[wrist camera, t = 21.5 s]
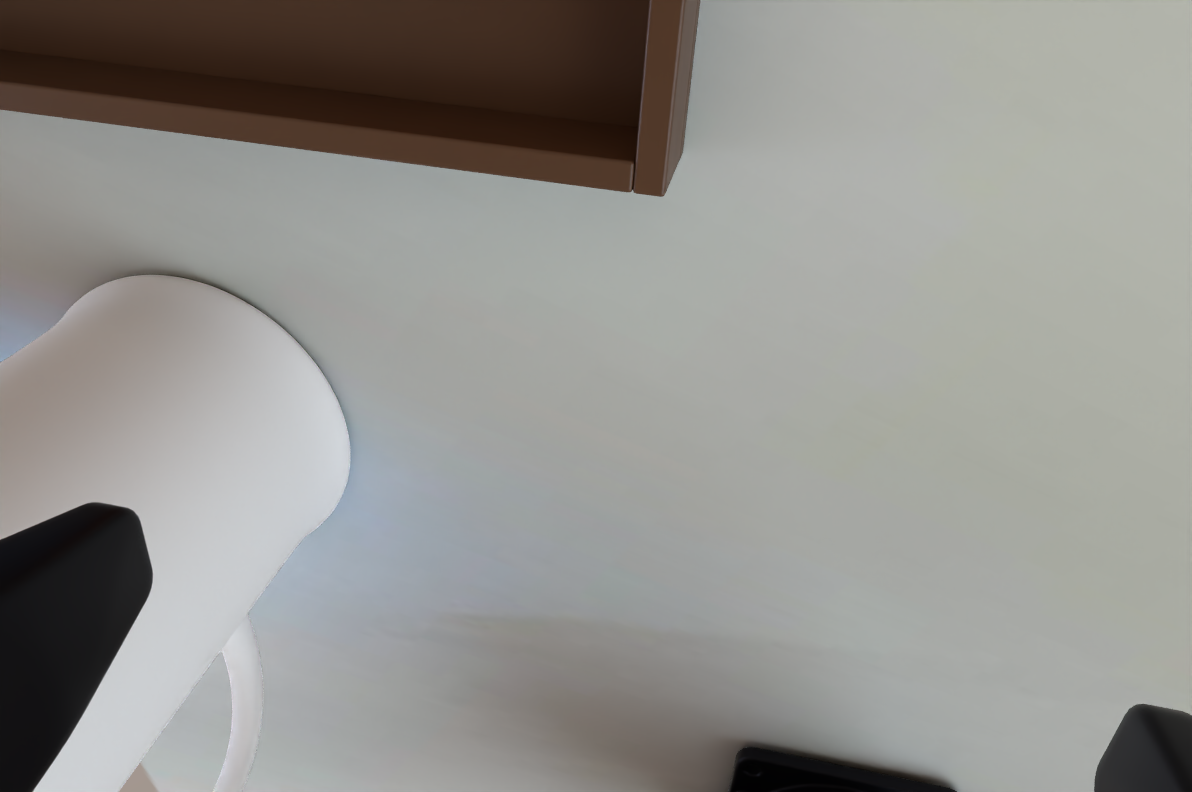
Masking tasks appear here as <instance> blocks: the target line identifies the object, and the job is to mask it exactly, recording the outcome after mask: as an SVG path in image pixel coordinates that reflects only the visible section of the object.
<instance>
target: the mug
mask: <svg viewBox="0 0 1192 792" xmlns="http://www.w3.org/2000/svg"><path fill="white" fill-rule="evenodd" d="M350 460H351V453H350V441H349V434H348V429H347V425H346V422H345V418H344V415H343V412H342V409H341V407H340V404H339V402H338V400H337V398H336V396H335V394H334V392H333V390H332V388H331V386H330V384H329V383H328V381H327V379H326V378H325V376H324V375H323V373H322V372H321V370H320V369H319V367H318V366H317V365H316V363H315V362H314V361H313V359H312V358H311V357H310V356H309V354H308V353H307V352H306V351H305V350H304V349H303V348H302V347H301V345H300V344H299V343H298V342H297V341H296V340H295V339H294V338H293V337H292V336H291V335H290V334H288V333H287V332H286V331H285V330H284V329H283V328H282V327H281V326H279V325H278V324H277V323H276V322H274V321H273V320H272V319H270V318H269V317H268V316H266V315H265V314H264V313H262V312H261V311H259V310H258V309H256V308H255V307H253V306H251V305H250V304H248V303H246V302H245V301H243V300H241V299H239V298H237V297H235V296H233V295H231V294H229V293H227V292H225V291H223V290H220V289H218V288H215V287H213V286H210V285H207V284H204V283H201V282H197V281H194V280H190V279H185V278H180V277H174V276H165V275H138V276H130V277H125V278H120V279H116V280H113V281H110V282H108V283H105V284H103V285H100V286H98V287H96V288H95V289H93V290H91V291H90V292H88V293H87V294H85V295H84V296H82V297H81V298H80V299H79V300H78V301H76V302H75V303H74V304H73V305H72V306H71V307H70V309H69V310H68V311H67V312H66V313H65V315H64V316H63V317H62V319H61V320H60V321H59V322H58V323H57V324H56V325H55V326H53V327H52V328H51V329H49V330H48V331H47V332H45V333H44V334H42V335H41V336H40V337H38V338H37V339H35V340H34V341H32V342H31V343H29V344H28V345H26V346H25V347H23V348H22V349H20V350H19V351H17V352H16V353H14V354H13V355H11V356H10V357H8V358H7V359H5V360H4V361H2V362H1V363H0V540H1V539H3V538H5V537H8V536H10V535H13V534H15V533H17V532H20V531H22V530H24V529H27V528H29V527H31V526H34V525H36V524H39V523H41V522H43V521H46V520H48V519H50V518H53V517H55V516H57V515H60V514H62V513H65V512H67V511H69V510H72V509H74V508H76V507H79V506H81V505H84V504H86V503H91V502H100V503H106V504H111V505H116V506H121V507H126V508H129V509H131V510H133V511H134V512H135V513H136V514H137V515H138V517H139V519H140V521H141V525H142V529H143V533H144V537H145V541H146V545H147V549H148V553H149V557H150V561H151V565H152V570H153V582H152V588H151V591H150V594H149V596H148V598H147V601H146V602H145V604H144V606H143V608H142V610H141V611H140V613H139V615H138V617H137V619H136V620H135V622H134V624H133V626H132V628H131V629H130V631H129V633H128V635H127V637H126V638H125V640H124V642H123V644H122V646H121V647H120V649H119V651H118V653H117V655H116V656H115V658H114V660H113V662H112V664H111V665H110V667H109V669H108V671H107V673H106V674H105V676H104V678H103V680H102V682H101V683H100V685H99V687H98V689H97V691H96V692H95V694H94V696H93V698H92V700H91V701H90V703H89V705H88V707H87V709H86V710H85V712H84V714H83V716H82V717H81V719H80V721H79V722H78V724H77V726H76V727H75V729H74V731H73V732H72V734H71V736H70V737H69V739H68V740H67V742H66V743H65V745H64V747H63V748H62V750H61V751H60V753H59V754H58V756H57V757H56V759H55V760H54V762H53V763H52V765H51V766H50V768H49V769H48V770H47V772H46V773H45V775H44V776H43V778H42V779H41V781H40V782H39V783H38V785H37V786H36V788H35V789H34V791H33V792H119V791H120V789H121V788H122V786H123V785H124V784H125V782H126V781H127V779H128V778H129V776H130V775H131V774H132V773H133V771H134V770H135V768H136V767H137V766H138V764H139V763H140V762H141V760H142V759H143V757H144V756H145V755H146V753H147V752H148V750H149V749H150V748H151V746H152V745H153V744H154V742H155V741H156V739H157V738H158V737H159V735H160V734H161V733H162V731H163V730H164V728H165V727H166V726H167V724H168V723H169V722H170V720H171V719H172V717H173V716H174V715H175V713H176V712H177V710H178V709H179V708H180V706H181V705H182V704H183V702H184V701H185V699H186V698H187V697H188V695H189V694H190V693H191V691H192V690H193V688H194V687H195V686H196V684H197V683H198V681H199V680H200V679H201V677H202V676H203V675H204V673H205V672H206V670H207V669H208V668H209V666H210V665H211V664H212V662H213V661H214V659H215V658H216V657H217V655H218V654H219V652H220V651H222V654H223V656H224V659H225V662H226V666H227V670H228V674H229V679H230V685H231V693H232V725H231V733H230V740H229V745H228V750H227V754H226V758H225V761H224V765H223V768H222V771H221V773H220V776H219V779H218V781H217V783H216V785H215V788H214V790H213V792H242V791H243V789H244V786H245V784H246V782H247V779H248V776H249V774H250V771H251V768H252V765H253V762H254V758H255V755H256V751H257V746H258V742H259V737H260V731H261V724H262V715H263V673H262V665H261V658H260V652H259V648H258V643H257V639H256V635H255V632H254V629H253V625H252V622H251V620H250V617H249V614H248V612H249V611H250V610H251V608H252V607H253V606H254V604H255V603H256V601H257V600H258V599H259V597H260V596H261V595H262V593H263V592H264V590H265V589H266V588H267V586H268V585H269V584H270V582H271V581H272V579H273V578H274V577H275V575H276V574H277V573H278V571H279V570H280V568H281V567H282V566H283V564H284V563H285V562H286V560H287V559H288V558H289V556H290V555H291V554H292V552H293V551H294V550H295V549H296V547H297V546H298V545H299V544H300V542H301V541H302V540H303V539H304V538H305V537H306V536H307V535H309V534H310V533H311V532H313V531H314V530H315V529H317V528H318V527H319V526H320V525H321V524H322V523H323V522H324V521H325V520H326V519H327V518H328V517H329V516H330V515H331V513H332V512H333V511H334V509H335V508H336V506H337V505H338V503H339V501H340V499H341V497H342V495H343V493H344V490H345V488H346V485H347V481H348V477H349V471H350Z"/></svg>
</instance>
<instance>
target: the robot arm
mask: <svg viewBox="0 0 1192 792" xmlns="http://www.w3.org/2000/svg"><path fill="white" fill-rule="evenodd" d="M152 582H153V570H152V565H151V561H150V557H149V553H148V549H147V545H146V541H145V537H144V533H143V529H142V525H141V521H140V519H139V517H138V515H137V514H136V513H135V512H134V511H133V510H131V509H129V508H126V507H121V506H116V505H111V504H106V503H100V502H91V503H86V504H84V505H81V506H79V507H76V508H74V509H72V510H69V511H67V512H65V513H62V514H60V515H57V516H55V517H53V518H50V519H48V520H46V521H43V522H41V523H39V524H36V525H34V526H31V527H29V528H27V529H24V530H22V531H20V532H17V533H15V534H13V535H10V536H8V537H5V538H3V539H1V540H0V792H33V791H34V789H35V788H36V786H37V785H38V783H39V782H40V781H41V779H42V778H43V776H44V775H45V773H46V772H47V770H48V769H49V768H50V766H51V765H52V763H53V762H54V760H55V759H56V757H57V756H58V754H59V753H60V751H61V750H62V748H63V747H64V745H65V743H66V742H67V740H68V739H69V737H70V736H71V734H72V732H73V731H74V729H75V727H76V726H77V724H78V722H79V721H80V719H81V717H82V716H83V714H84V712H85V710H86V709H87V707H88V705H89V703H90V701H91V700H92V698H93V696H94V694H95V692H96V691H97V689H98V687H99V685H100V683H101V682H102V680H103V678H104V676H105V674H106V673H107V671H108V669H109V667H110V665H111V664H112V662H113V660H114V658H115V656H116V655H117V653H118V651H119V649H120V647H121V646H122V644H123V642H124V640H125V638H126V637H127V635H128V633H129V631H130V629H131V628H132V626H133V624H134V622H135V620H136V619H137V617H138V615H139V613H140V611H141V610H142V608H143V606H144V604H145V602H146V601H147V598H148V596H149V594H150V591H151V588H152ZM1094 791H1095V792H1192V715H1190V714H1188V713H1185V712H1183V711H1178V710H1173V709H1168V708H1163V707H1158V706H1152V705H1147V704H1137V705H1135V706H1133V707H1132V708H1130V709H1129V710H1128V712H1127V713H1126V715H1125V716H1124V718H1123V720H1122V722H1121V724H1120V725H1119V727H1118V729H1117V731H1116V733H1115V735H1114V736H1113V738H1112V740H1111V742H1110V744H1109V746H1108V747H1107V749H1106V751H1105V753H1104V755H1103V757H1102V758H1101V760H1100V762H1099V765H1098V767H1097V771H1096V776H1095V787H1094ZM728 792H957V791H955V790H953V789H950V788H946V787H941V786H936V785H932V784H927V783H922V782H917V781H913V780H908V779H903V778H898V777H894V776H889V775H884V774H879V773H875V772H870V771H865V770H860V769H855V768H851V767H846V766H841V765H836V764H832V763H827V762H822V761H817V760H813V759H808V758H803V757H798V756H794V755H789V754H784V753H779V752H775V751H770V750H765V749H760V748H755V747H747V748H743V749H741V750H740V751H739V752H738V753H737V755H736V760H735V764H734V769H733V773H732V778H731V782H730V787H729V791H728Z"/></svg>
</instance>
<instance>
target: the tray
mask: <svg viewBox="0 0 1192 792" xmlns="http://www.w3.org/2000/svg"><path fill="white" fill-rule="evenodd" d="M699 6H700V0H0V109H1V110H9V111H16V112H24V113H31V114H39V115H46V116H54V117H62V118H69V119H77V120H84V121H92V122H99V123H107V124H115V125H122V126H130V127H137V128H145V129H152V130H160V131H168V132H175V133H183V134H190V135H198V136H205V137H213V138H221V139H228V140H236V141H243V142H251V143H258V144H266V145H274V146H281V147H289V148H296V149H304V150H311V151H319V152H327V153H334V154H342V155H349V156H357V157H364V158H372V159H380V160H387V161H395V162H402V163H410V164H417V165H425V166H433V167H440V168H448V169H455V170H463V171H470V172H478V173H486V174H493V175H501V176H508V177H516V178H523V179H531V180H539V181H546V182H554V183H561V184H569V185H576V186H584V187H592V188H599V189H607V190H614V191H622V192H631V191H632V190H633V191H634V192H635V193H637V194H645V195H652V196H660V197H661V196H664V195H665V193H666V191H667V188H668V186H669V183H670V181H671V179H672V176H673V174H674V172H675V169H676V167H677V164H678V162H679V160H680V158H681V156H682V153H683V146H684V137H685V128H686V120H687V111H688V102H689V94H690V85H691V76H692V67H693V59H694V50H695V41H696V32H697V24H698V15H699Z"/></svg>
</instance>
